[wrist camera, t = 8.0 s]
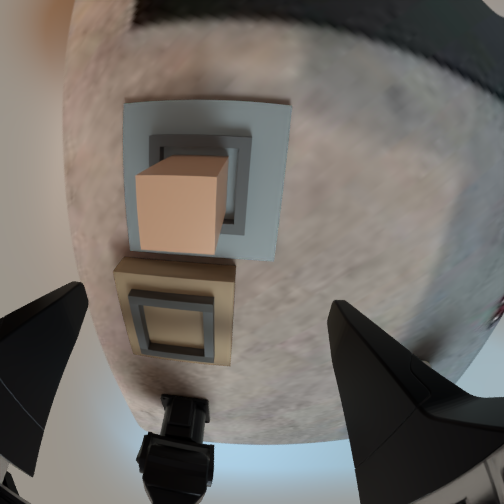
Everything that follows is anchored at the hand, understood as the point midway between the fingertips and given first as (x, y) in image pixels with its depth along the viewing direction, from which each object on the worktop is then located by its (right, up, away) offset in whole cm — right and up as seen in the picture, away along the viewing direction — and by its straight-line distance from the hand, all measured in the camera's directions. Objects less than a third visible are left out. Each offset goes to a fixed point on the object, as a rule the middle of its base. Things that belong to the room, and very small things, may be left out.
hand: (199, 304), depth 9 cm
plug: (-2, +7, +10) cm, 12 cm away
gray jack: (-2, +7, +11) cm, 13 cm away
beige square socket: (-5, -4, +16) cm, 17 cm away
